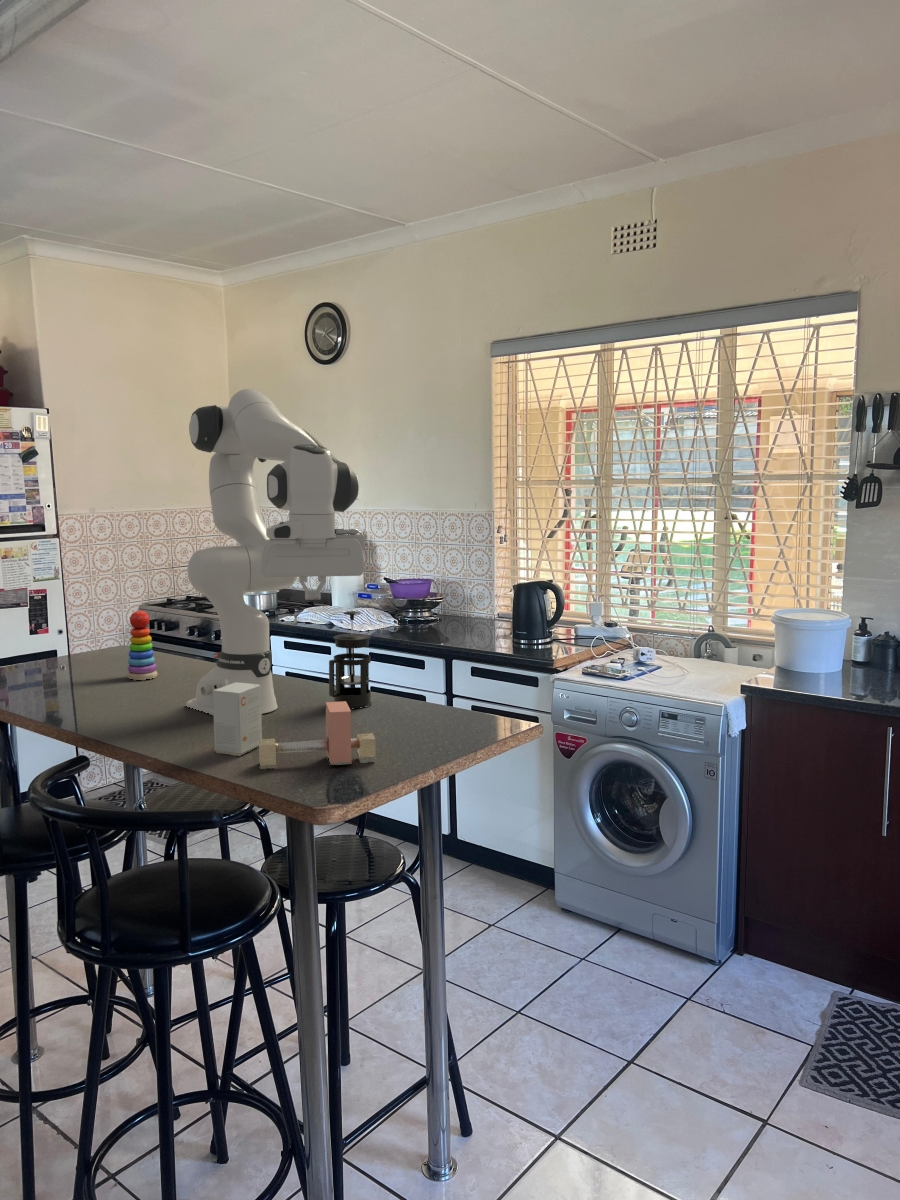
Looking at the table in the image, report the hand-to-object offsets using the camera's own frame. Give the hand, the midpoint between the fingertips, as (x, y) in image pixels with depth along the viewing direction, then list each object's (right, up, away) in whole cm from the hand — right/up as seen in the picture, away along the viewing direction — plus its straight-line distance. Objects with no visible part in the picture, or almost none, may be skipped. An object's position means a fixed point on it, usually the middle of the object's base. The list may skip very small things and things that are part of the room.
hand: (312, 599), depth 177 cm
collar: (+5, -32, -2) cm, 32 cm away
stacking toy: (-58, -22, +70) cm, 94 cm away
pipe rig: (+1, -32, -3) cm, 32 cm away
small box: (-16, -31, +5) cm, 35 cm away
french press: (+3, -26, +43) cm, 50 cm away
